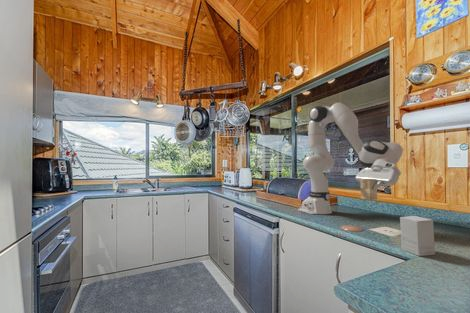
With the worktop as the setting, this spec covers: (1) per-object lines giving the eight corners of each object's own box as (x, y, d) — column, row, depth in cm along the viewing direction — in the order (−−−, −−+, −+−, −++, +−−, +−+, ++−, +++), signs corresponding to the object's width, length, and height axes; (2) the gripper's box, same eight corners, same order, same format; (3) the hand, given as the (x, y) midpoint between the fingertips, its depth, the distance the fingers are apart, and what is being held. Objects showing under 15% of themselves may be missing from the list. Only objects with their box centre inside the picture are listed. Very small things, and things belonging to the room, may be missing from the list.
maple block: (361, 198, 116) (360, 178, 116) (368, 197, 118) (367, 178, 118) (369, 200, 112) (369, 179, 112) (377, 199, 113) (376, 179, 113)
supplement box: (436, 254, 84) (434, 219, 84) (418, 256, 82) (417, 221, 83) (416, 247, 91) (415, 215, 91) (400, 249, 90) (399, 216, 90)
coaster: (337, 228, 118) (337, 227, 118) (347, 225, 124) (347, 224, 124) (357, 233, 110) (357, 232, 110) (367, 229, 116) (367, 228, 116)
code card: (368, 229, 115) (368, 229, 115) (385, 226, 119) (385, 226, 119) (391, 236, 104) (391, 236, 104) (409, 233, 108) (409, 233, 108)
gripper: (360, 164, 127) (347, 182, 124) (398, 164, 108) (383, 186, 104) (367, 171, 129) (354, 190, 125) (404, 173, 109) (390, 195, 106)
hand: (367, 188), depth 115 cm, fingers closed on maple block, 5 cm apart
